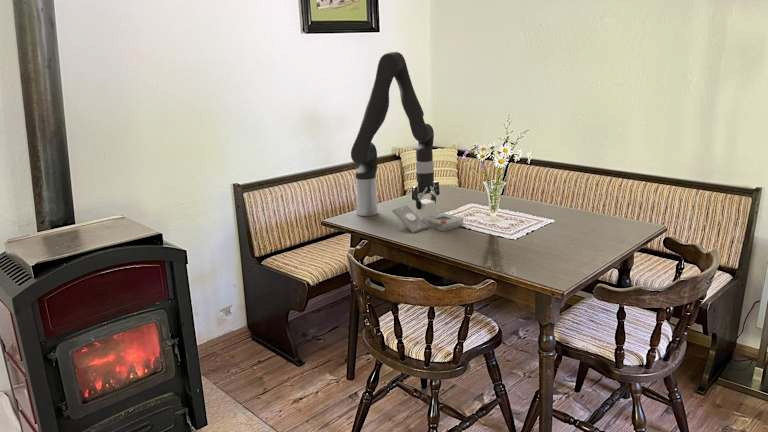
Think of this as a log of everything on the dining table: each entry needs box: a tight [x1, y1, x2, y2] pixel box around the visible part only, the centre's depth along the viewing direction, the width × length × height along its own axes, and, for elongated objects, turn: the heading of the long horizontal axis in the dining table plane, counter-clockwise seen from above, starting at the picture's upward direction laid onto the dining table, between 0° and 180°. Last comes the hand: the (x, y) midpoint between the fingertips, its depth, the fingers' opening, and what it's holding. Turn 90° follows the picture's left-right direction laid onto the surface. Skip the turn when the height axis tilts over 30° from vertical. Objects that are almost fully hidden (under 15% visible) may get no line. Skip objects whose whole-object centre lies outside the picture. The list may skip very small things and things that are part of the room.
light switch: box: [392, 205, 429, 234], centre depth 249 cm, size 8×6×14 cm
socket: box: [422, 212, 464, 232], centre depth 249 cm, size 12×12×4 cm
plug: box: [415, 198, 437, 220], centre depth 257 cm, size 6×6×8 cm
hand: (426, 207), depth 256 cm, fingers open, 8 cm apart
